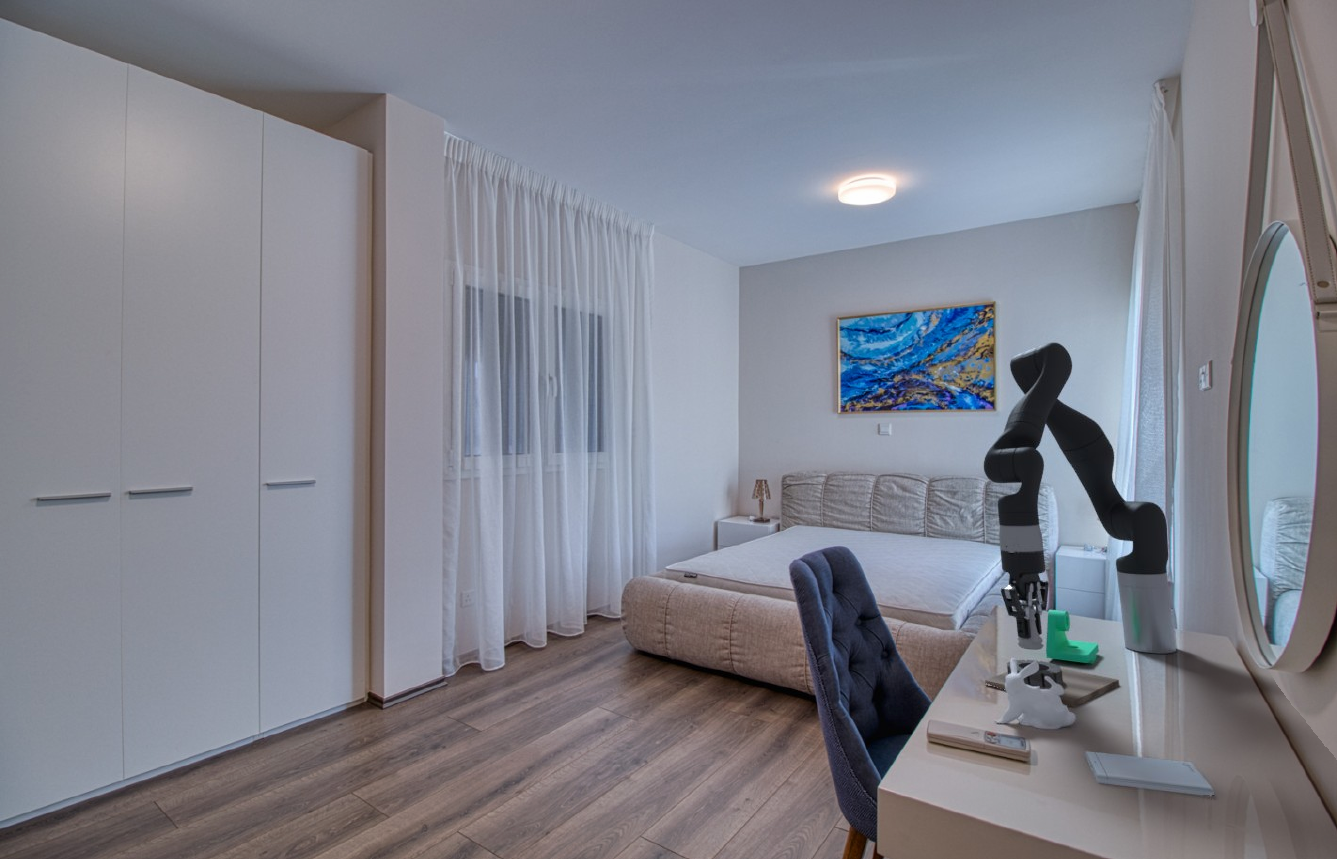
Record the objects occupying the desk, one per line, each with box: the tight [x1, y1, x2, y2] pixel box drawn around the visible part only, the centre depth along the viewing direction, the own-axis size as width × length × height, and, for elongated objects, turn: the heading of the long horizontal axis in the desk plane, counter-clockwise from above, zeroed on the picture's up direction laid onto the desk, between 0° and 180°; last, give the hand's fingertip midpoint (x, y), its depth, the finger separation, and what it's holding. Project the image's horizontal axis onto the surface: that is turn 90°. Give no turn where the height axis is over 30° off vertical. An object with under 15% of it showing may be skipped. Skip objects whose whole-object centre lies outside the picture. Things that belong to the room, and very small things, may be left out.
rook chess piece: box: [1017, 605, 1044, 651], centre depth 123 cm, size 4×4×8 cm
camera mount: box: [1045, 609, 1100, 664], centre depth 138 cm, size 12×8×10 cm, turn 136°
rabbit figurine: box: [995, 657, 1076, 730], centre depth 106 cm, size 12×8×10 cm, turn 61°
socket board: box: [984, 659, 1120, 708], centre depth 121 cm, size 18×16×4 cm
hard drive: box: [1084, 750, 1215, 796], centre depth 85 cm, size 2×8×12 cm
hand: (1029, 635), depth 123 cm, fingers closed on rook chess piece, 3 cm apart
